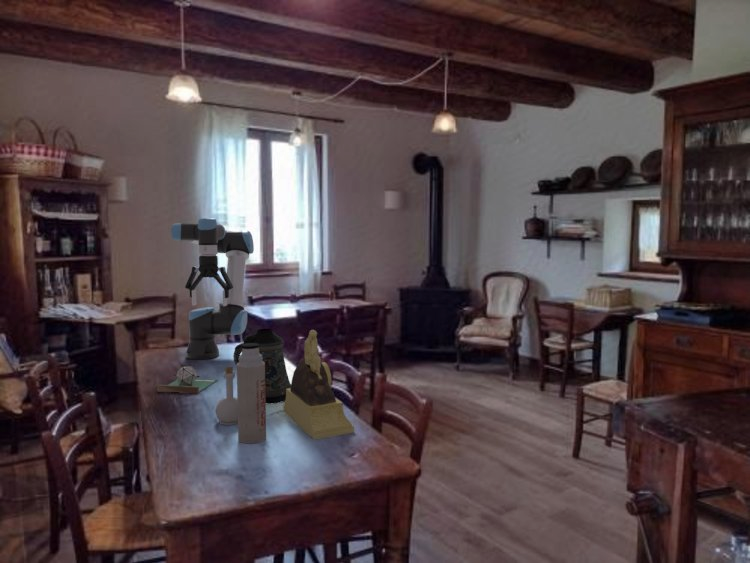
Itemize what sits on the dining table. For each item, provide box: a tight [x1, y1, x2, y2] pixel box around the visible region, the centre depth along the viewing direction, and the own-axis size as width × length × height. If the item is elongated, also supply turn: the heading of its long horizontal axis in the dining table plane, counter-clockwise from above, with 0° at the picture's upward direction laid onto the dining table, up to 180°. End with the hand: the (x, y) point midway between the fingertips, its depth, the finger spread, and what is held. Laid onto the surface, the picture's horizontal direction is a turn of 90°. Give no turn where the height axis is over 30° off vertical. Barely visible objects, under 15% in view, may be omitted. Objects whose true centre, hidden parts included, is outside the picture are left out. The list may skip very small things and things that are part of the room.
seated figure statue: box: [283, 329, 355, 441], centre depth 176 cm, size 28×13×30 cm, turn 27°
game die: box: [173, 364, 200, 386], centre depth 215 cm, size 9×8×10 cm
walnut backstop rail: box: [156, 384, 200, 395], centre depth 208 cm, size 1×16×2 cm, turn 82°
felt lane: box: [168, 378, 218, 393], centre depth 217 cm, size 17×16×1 cm
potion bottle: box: [214, 366, 238, 426], centre depth 176 cm, size 9×9×18 cm
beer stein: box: [233, 328, 291, 405], centre depth 200 cm, size 16×19×25 cm
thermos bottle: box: [236, 343, 267, 444], centre depth 161 cm, size 8×8×28 cm
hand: (209, 305), depth 235 cm, fingers open, 13 cm apart
